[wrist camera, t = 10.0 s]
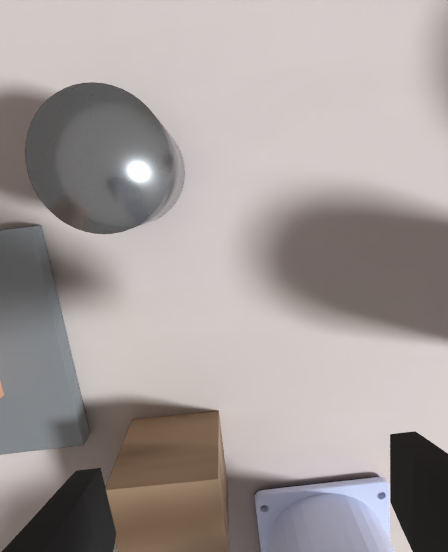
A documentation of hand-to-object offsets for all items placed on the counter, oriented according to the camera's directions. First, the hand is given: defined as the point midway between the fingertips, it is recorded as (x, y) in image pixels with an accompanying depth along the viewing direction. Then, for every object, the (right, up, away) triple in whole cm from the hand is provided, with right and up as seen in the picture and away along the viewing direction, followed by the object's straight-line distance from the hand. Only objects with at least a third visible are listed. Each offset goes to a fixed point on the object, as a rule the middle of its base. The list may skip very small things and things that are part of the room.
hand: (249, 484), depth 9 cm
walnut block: (-3, -5, +12) cm, 13 cm away
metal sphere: (-5, +10, +8) cm, 14 cm away
